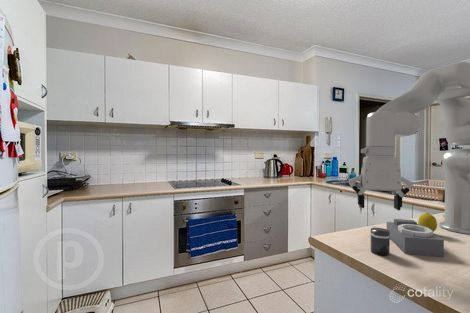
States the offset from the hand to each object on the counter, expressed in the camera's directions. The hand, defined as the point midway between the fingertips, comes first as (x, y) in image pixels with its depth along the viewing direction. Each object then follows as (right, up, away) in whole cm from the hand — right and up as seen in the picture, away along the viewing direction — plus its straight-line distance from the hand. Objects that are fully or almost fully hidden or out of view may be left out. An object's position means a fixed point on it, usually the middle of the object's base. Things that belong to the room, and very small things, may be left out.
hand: (379, 208), depth 73 cm
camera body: (+15, -14, +6) cm, 21 cm away
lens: (+1, -14, +1) cm, 14 cm away
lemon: (+28, -13, +16) cm, 35 cm away
